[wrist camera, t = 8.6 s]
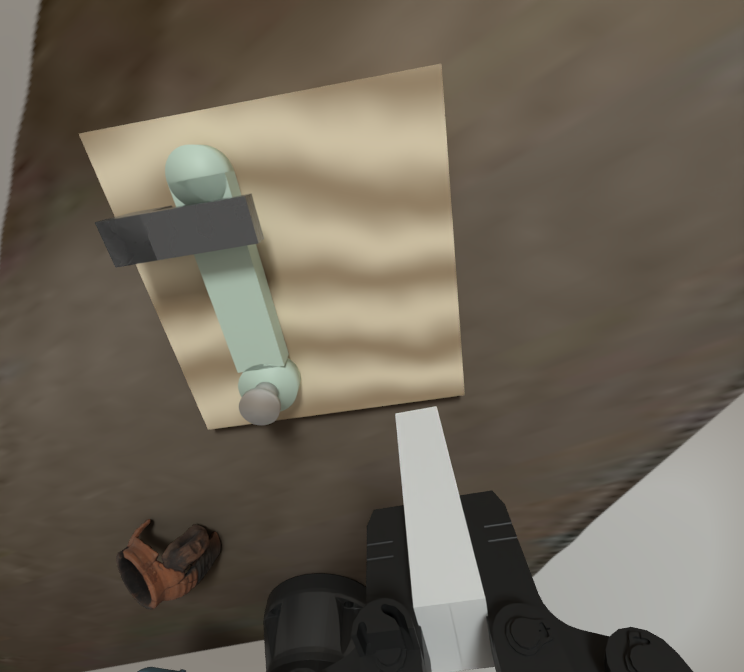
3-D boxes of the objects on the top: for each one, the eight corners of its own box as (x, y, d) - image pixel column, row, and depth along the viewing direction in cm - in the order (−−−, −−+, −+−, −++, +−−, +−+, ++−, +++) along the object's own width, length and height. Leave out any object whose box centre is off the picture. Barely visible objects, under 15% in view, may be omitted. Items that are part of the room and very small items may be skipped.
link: (306, 395, 36) (303, 408, 34) (254, 403, 36) (248, 416, 34) (232, 138, 27) (221, 137, 25) (162, 151, 27) (147, 152, 25)
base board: (461, 386, 38) (478, 430, 32) (213, 419, 39) (185, 468, 33) (437, 67, 26) (457, 44, 20) (92, 134, 28) (18, 130, 22)
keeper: (274, 230, 30) (258, 243, 26) (149, 251, 30) (115, 267, 26) (262, 189, 28) (244, 195, 24) (133, 212, 29) (94, 222, 25)
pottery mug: (207, 569, 51) (145, 625, 44) (167, 509, 52) (100, 554, 45) (248, 546, 44) (183, 607, 37) (201, 477, 45) (129, 525, 38)
